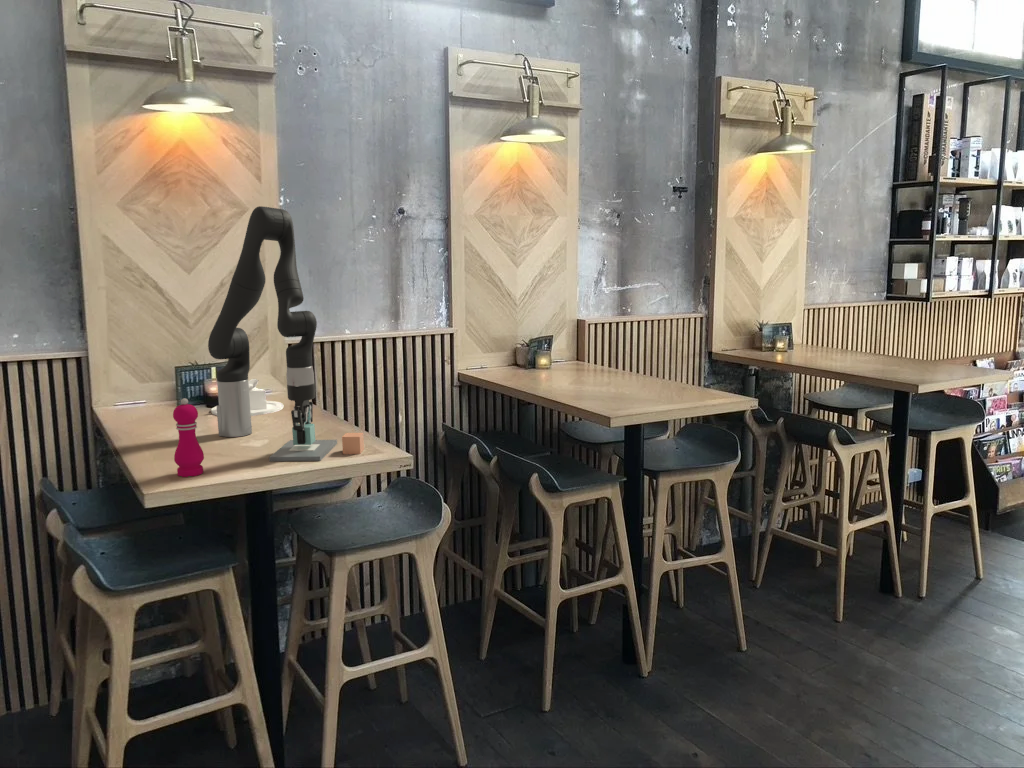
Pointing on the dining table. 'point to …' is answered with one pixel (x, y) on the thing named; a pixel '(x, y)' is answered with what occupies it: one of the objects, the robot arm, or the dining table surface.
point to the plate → (303, 451)
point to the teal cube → (308, 434)
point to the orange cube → (353, 443)
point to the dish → (258, 401)
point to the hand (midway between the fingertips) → (304, 441)
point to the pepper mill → (187, 441)
